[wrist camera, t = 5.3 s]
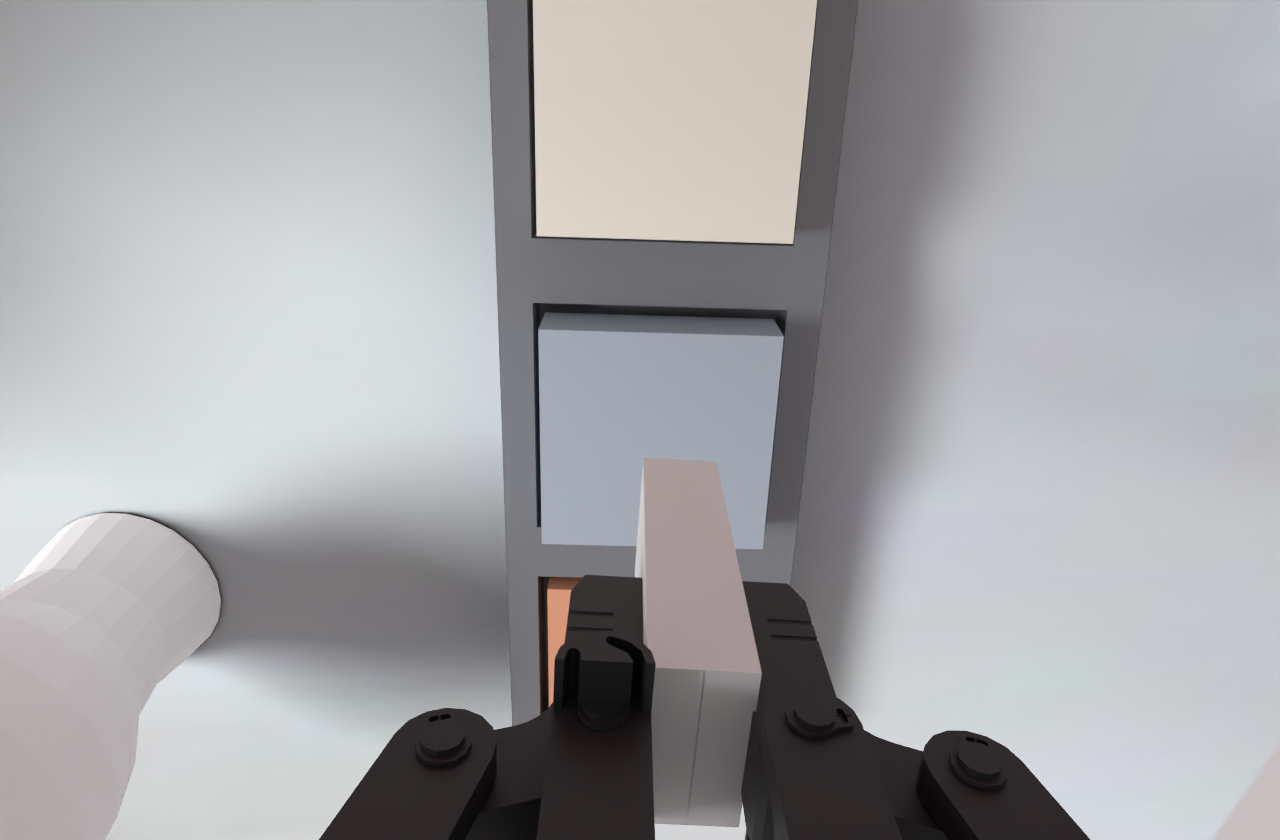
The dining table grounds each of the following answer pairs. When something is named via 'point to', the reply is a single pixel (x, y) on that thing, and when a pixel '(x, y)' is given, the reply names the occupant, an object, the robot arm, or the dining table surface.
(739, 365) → the key slate
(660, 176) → the key cream
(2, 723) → the cup
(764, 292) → the keypad
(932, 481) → the dining table surface
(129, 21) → the dining table surface
